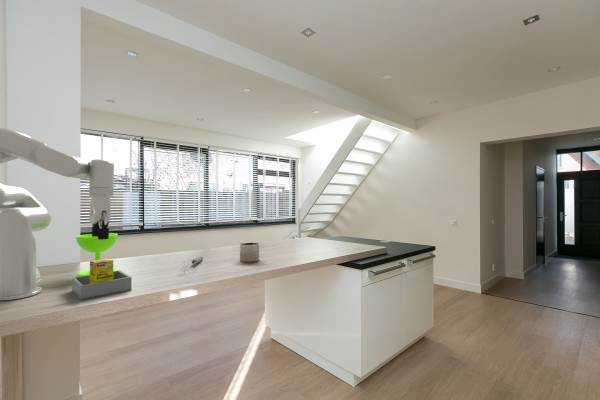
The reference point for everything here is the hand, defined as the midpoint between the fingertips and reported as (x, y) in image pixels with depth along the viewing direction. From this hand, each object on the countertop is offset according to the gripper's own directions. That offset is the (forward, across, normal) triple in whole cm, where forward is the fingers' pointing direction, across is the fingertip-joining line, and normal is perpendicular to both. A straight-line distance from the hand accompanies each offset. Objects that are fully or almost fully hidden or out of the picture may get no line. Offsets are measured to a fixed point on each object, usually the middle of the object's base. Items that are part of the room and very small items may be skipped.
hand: (99, 237), depth 109 cm
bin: (+20, +1, +1) cm, 20 cm away
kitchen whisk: (+20, -12, +44) cm, 49 cm away
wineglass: (+21, -30, +6) cm, 37 cm away
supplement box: (+20, +1, +1) cm, 20 cm away
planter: (+19, -2, +72) cm, 74 cm away
